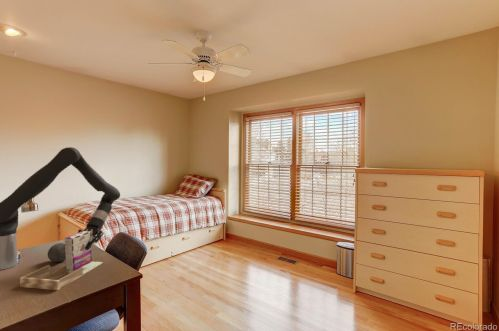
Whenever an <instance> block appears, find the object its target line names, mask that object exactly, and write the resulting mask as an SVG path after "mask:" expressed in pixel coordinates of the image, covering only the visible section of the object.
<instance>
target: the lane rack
mask: <svg viewBox="0 0 499 331" xmlns="http://www.w3.org/2000/svg"><path fill="white" fill-rule="evenodd" d="M83 276H84V274H83V268H82V267H81V268H79V269H77V270H75V271H73V272H72V273H67V270H66V265H65V266H64V265H63V266H61V267H60V268H57V269H56V270H54V271H52V272H51V265H50V264H47V265H45V266H43V267H41V268H38V269H37V270H34V271H32V272H30V273H28V274H25V275H24V276H21V277H20V278H19V287H21V288H30V289H42V290H50V291H52V290H53V291H59V290H60V289H63V288H64V287H66V286H68V285H69V284H71V283H73V282H74V281H76V280H78V279H79V278H81V277H83Z"/></svg>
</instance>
